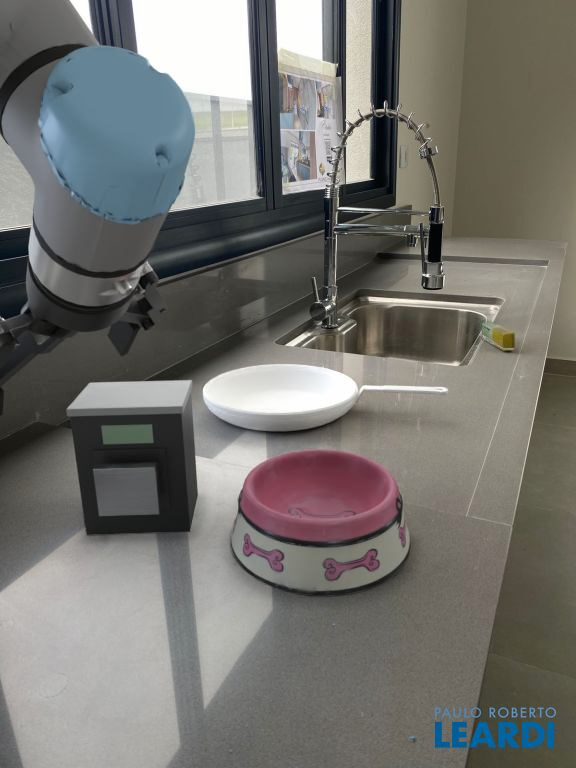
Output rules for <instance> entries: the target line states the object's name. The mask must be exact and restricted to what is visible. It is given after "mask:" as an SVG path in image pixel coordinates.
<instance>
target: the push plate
mask: <svg viewBox="0 0 576 768" xmlns="http://www.w3.org/2000/svg"><path fill="white" fill-rule="evenodd" d="M93 473H94V481H95V489H96V497H97V505H98V512H99V516H119V515H151V514H159V513H160V510H161V501H160V490H159V479H158V468H157V462H148V463H112V464H96V465H95V467H94V468H93Z"/></svg>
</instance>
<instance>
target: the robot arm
mask: <svg viewBox="0 0 576 768" xmlns="http://www.w3.org/2000/svg"><path fill="white" fill-rule="evenodd" d="M0 136H1V138H2V139H3V140H4V142H5V143H6V144H7V145H8V146H9V147H10V149H11V150H12V152H13V153H14V155H15V156H16V158H17V159H18V160H19V162H20V163H21V164H22V166H23V167H24V169H25V170H26V172H27V173H28V175H29V176H30V179H31V181H32V183H33V187H34V195H33V207H32V217H31V223H30V224H31V225H30V233H29V239H28V255H27V266H26V275H25V287H26V289H25V290H26V295H27V301H26V303H25V304H24V305H23V306H22V308H21V310H20V314H18V315H16V316H13V317H9V318H7V319H5V318H3V317H2V316H1V315H0V417H1V416H3V415H4V400H5V398H4V397H5V391H4V389H3V386H4V385H5V384H6V383H7V382H8V381H9V380H11V379H12V378H13V377H14V376H15V375H16V374H17V373H19V372H20V371H21V370H23V368H25V366H27V365H28V364H30V363H31V361H32V360H34V359H35V358H37V356H38V355H44V354H50V353H51V352H52V351H54V350H55V349H56V348H57V347H58V346H59V345H61V344H62V343H63V342H64V341H65V340H66V339H70V338H71V339H72V338H73V337H74V336H76V335H78V333H93V332H98V331H101V330H104V329H107V328H109V330H108V333H107V335H106V336H107V338H108V339H109V341H110V342H111V344H112V345H113V347H114V348H115V350H116V352H118V354H119V355H120V357H121V358H122V357H123V356H126V355H128V354H129V351H130V349H131V347H132V346H133V343H134V342H135V339H136V337H137V335H138V333H139V331H141V329H143V330H144V331H145V332H147V331H149V330H151V329H153V328H154V327H155V326H156V323H155V321H154V320H153V318H152V317H151V315H152V314H153V313H156V314H157V315H161V314H164V313H166V311H167V310H168V309H169V307H168V305H167V303H166V302H165V301H164V299H163V297H162V295H161V294H160V292H159V290H158V289H157V288H158V284H159V281H160V279H159V277H158V275H157V274H156V272H155V271H154V269H153V268H152V266H151V265H150V263H149V262H148V260H149V257H150V255H151V254H152V251H153V249H154V247H155V245H156V239H157V237H158V234H159V232H160V230H161V228H162V226H163V225H164V222H165V220H166V219H167V216H168V214H169V212H170V211H171V209H172V206H173V205H174V204H175V202H176V201H177V199H178V197H179V196H180V195H181V191H182V189H183V187H184V184H185V179H186V171H187V168H188V165H189V161H190V158H191V154H192V151H193V148H194V143H195V138H196V123H195V117H194V113H193V109H192V106H191V104H190V102H189V99H188V97H187V96H186V94H185V92H184V90H183V89H182V87H181V86H180V85H179V83H177V81H176V80H175V79H174V77H172V76H171V74H169V73H167V72H160V71H159V70H157V69H156V68H154V67H153V66H152V65H151V63H150V60H149V58H147V57H145V56H143V55H141V54H140V53H137V52H134V51H131V50H129V49H126V48H122V47H118V46H112V45H101V44H100V42H99V41H98V39H97V38H96V37H95V35H94V34H93V32H92V31H91V30H90V28H89V27H88V25H87V24H86V22H85V21H84V19H83V18H82V17H81V15H80V13H79V12H78V10H77V8H76V7H75V6H74V4H73V3H72V1H71V0H0ZM136 290H137V291H138V294H140V295H141V294H142V295H143V297H142V298H140V299H139V297H138V296H135V293H136ZM45 337H47V338H46V339H45Z"/></svg>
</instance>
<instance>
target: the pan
mask: <svg viewBox="0 0 576 768" xmlns="http://www.w3.org/2000/svg"><path fill="white" fill-rule="evenodd" d="M364 392H383V393H392V394H393V393H395V394H423V395H438V396H439V395H440V396H444V395H447V394H448V393H449V389H448V387H445V386H420V385H419V386H415V385H414V386H413V385H388V384H387V385H386V384H385V385H384V384H383V385H369V384H368V385H367V384H365V385H362V387H360V388H359V387H358V384H357V382H356V381H355V380H354V379H352V378H351V377H350V376H348V375H346V374H344V373H342V372H339V371H337V370H333V369H330V368H327V367H320V366H316V365H307V364H293V363H284V364H283V363H275V364H273V363H272V364H260V365H252V366H247V367H246V366H245V367H241V368H240V367H239V368H236V369H233V370H229V371H226V372H223V373H220V374H219V375H216V376H215V377H213V378H211V379H209V381H207V382H206V383H205V385H204V387H203V388H202V398H203V402H204V404H205V406H206V407H207V408H208V410H209V411H210V412H211V413H212V414H213V415H215V416H216V417H217V418H219V419H220V420H222V421H224V422H226V423H228V424H231V425H233V426H237V427H240V428H243V429H248V430H255V431H263V432H292V431H294V432H295V431H301V430H302V431H303V430H309V429H313V428H317V427H321V426H324V425H326V424H329V423H332V422H334V421H336V420H338V419H339V418H341V417H342V416H344V415H345V414H346V413H348V412H349V411H350V410H351V409H352V408H353V407H354V405H355V404H357V403H358V402H359V400H360V398H361V397H362V395H363V393H364Z"/></svg>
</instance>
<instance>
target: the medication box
mask: <svg viewBox="0 0 576 768" xmlns="http://www.w3.org/2000/svg"><path fill="white" fill-rule="evenodd" d="M482 335H484V336H486V337H488V338H489V339H491V340H492V341H494V342H496V343H497V344H498V345H500V346H501V347H503V348H514V347H515V348H516V338H515V337H516V333H515V332H514V331H512V330H510V329H508V328H506V327H503V326H502V325H499V324H498V323H495V322H493V321H485V322H481V338H482V340H484V341H486V342H488V343H489V344H491V345H492V346H494V347H496V348H498V349H500V350H502V351H503V352H509V351H511V350H503V349H501V348H499V347H498V346H496V345H494V344H493V343H491V342H489V341H488V340H486V339H484V338H483V337H482Z"/></svg>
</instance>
